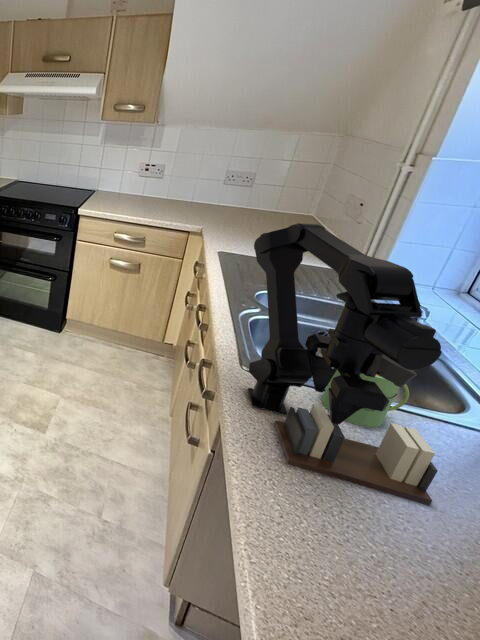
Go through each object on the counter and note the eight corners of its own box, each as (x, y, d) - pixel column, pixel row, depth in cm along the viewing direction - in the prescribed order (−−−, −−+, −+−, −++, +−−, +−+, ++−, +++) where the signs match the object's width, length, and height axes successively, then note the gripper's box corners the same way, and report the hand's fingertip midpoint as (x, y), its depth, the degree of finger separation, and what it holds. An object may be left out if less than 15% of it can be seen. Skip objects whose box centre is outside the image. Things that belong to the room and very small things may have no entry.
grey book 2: (313, 437, 82) (323, 413, 79) (323, 440, 81) (333, 415, 79) (323, 459, 76) (334, 434, 74) (333, 462, 76) (345, 437, 74)
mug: (329, 417, 88) (348, 371, 84) (316, 389, 97) (334, 346, 93) (407, 439, 83) (432, 391, 79) (386, 407, 92) (408, 362, 88)
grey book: (288, 430, 83) (298, 406, 81) (298, 433, 82) (308, 409, 80) (297, 452, 78) (307, 427, 76) (307, 455, 77) (317, 430, 75)
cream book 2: (375, 454, 78) (390, 422, 75) (386, 457, 77) (402, 425, 75) (390, 478, 73) (407, 446, 70) (401, 482, 72) (419, 449, 70)
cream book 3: (388, 457, 77) (405, 426, 75) (400, 460, 77) (416, 429, 74) (404, 483, 72) (422, 450, 69) (416, 486, 71) (435, 453, 69)
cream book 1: (300, 434, 82) (312, 403, 80) (310, 436, 82) (323, 406, 79) (309, 456, 77) (323, 424, 74) (320, 458, 77) (334, 427, 74)
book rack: (273, 424, 86) (282, 400, 84) (398, 457, 79) (411, 432, 77) (287, 463, 77) (297, 437, 75) (429, 505, 69) (445, 478, 67)
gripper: (453, 378, 60) (409, 459, 65) (392, 319, 75) (361, 389, 81) (355, 358, 64) (322, 436, 69) (317, 306, 80) (292, 373, 85)
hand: (326, 406), depth 76 cm, fingers open, 9 cm apart
